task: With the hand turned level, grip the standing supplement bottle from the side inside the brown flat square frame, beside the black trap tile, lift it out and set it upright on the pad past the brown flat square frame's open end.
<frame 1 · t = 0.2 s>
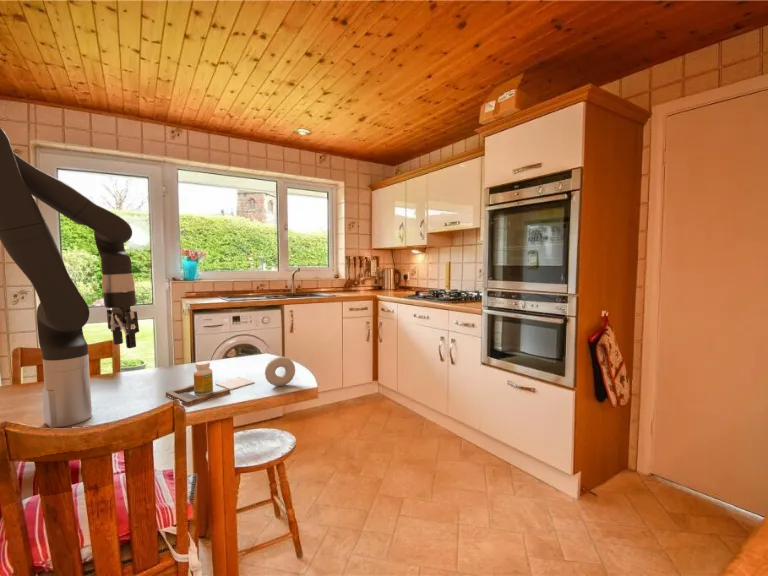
hand: (124, 345, 111), 17 cm above the table, tool pointing down, fingers open, 8 cm apart
supplement bottle: (203, 393, 123), on the table
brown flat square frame: (200, 393, 122), on the table
pad: (235, 383, 131), on the table
donut: (280, 386, 129), on the table
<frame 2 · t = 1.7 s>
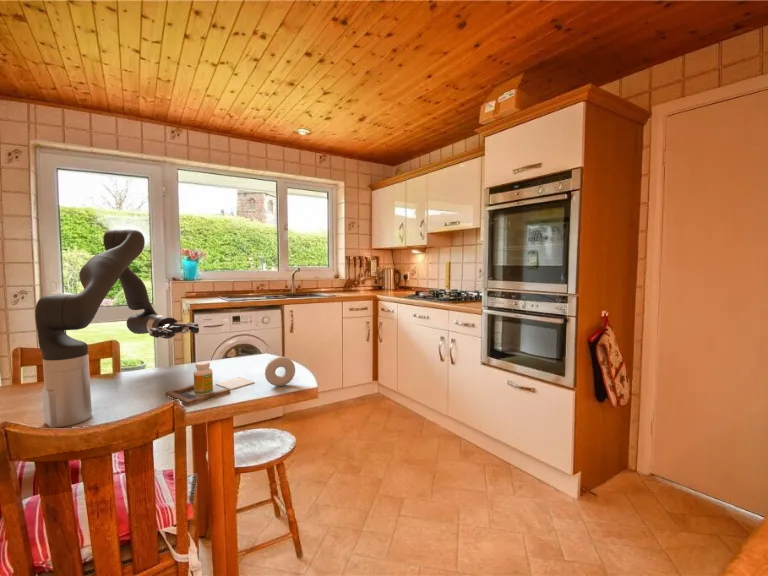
hand: (184, 332, 128), 18 cm above the table, tool horizontal, fingers open, 8 cm apart
nothing on the table moved.
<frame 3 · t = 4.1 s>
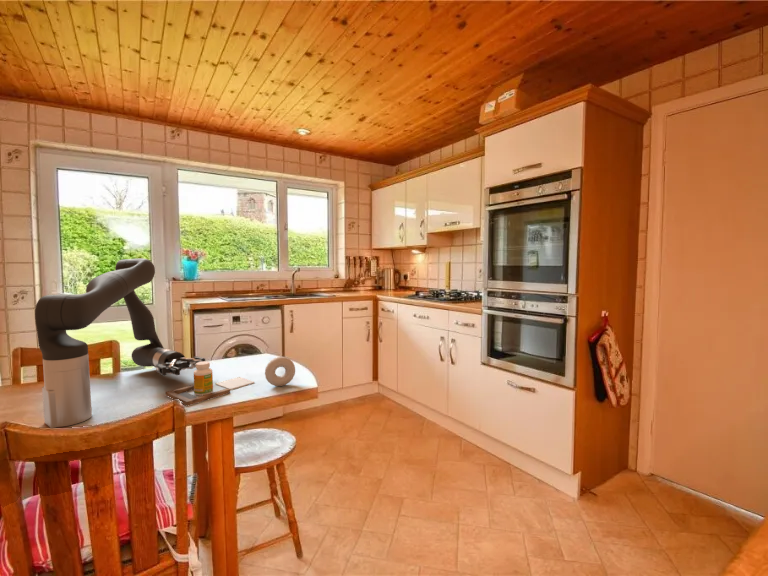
hand: (192, 368, 126), 7 cm above the table, tool horizontal, fingers open, 8 cm apart
nothing on the table moved.
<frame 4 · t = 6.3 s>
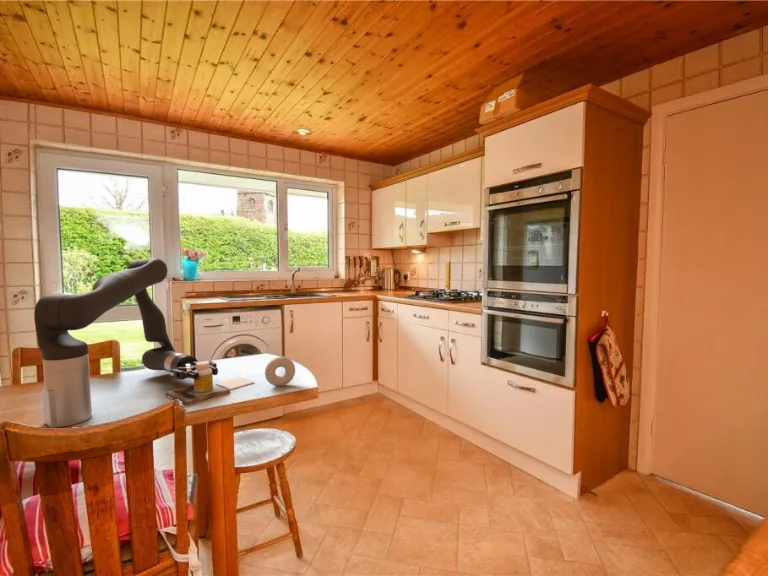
hand: (207, 374, 121), 7 cm above the table, tool horizontal, fingers closed on supplement bottle, 5 cm apart
supplement bottle: (203, 393, 123), on the table, touching gripper
everything else where it was.
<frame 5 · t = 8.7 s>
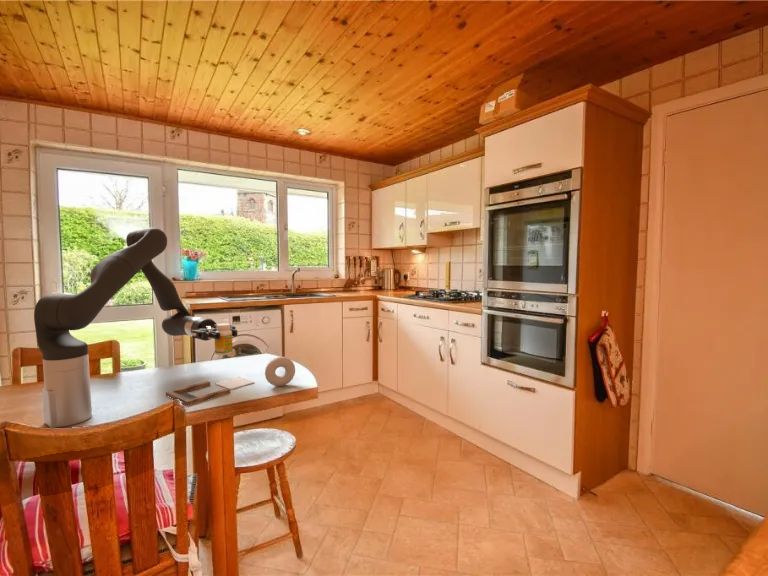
hand: (227, 334, 126), 18 cm above the table, tool horizontal, fingers closed on supplement bottle, 5 cm apart
supplement bottle: (223, 353, 128), point 11 cm above the table, touching gripper
everything else where it was.
when the fingers open (8 cm above the table, at t = 11.3 s): supplement bottle drops 1 cm, resting on pad.
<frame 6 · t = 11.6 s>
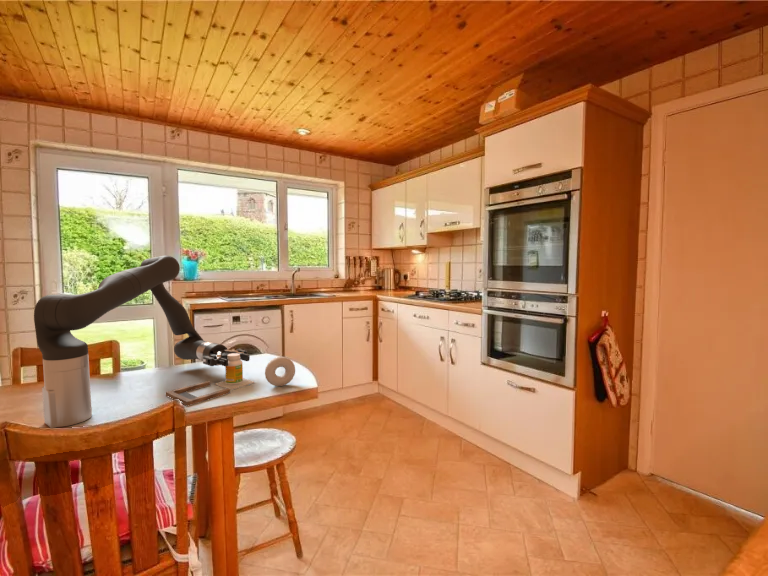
hand: (238, 360, 129), 8 cm above the table, tool horizontal, fingers open, 7 cm apart
supplement bottle: (234, 383, 131), resting on pad
everything else where it was.
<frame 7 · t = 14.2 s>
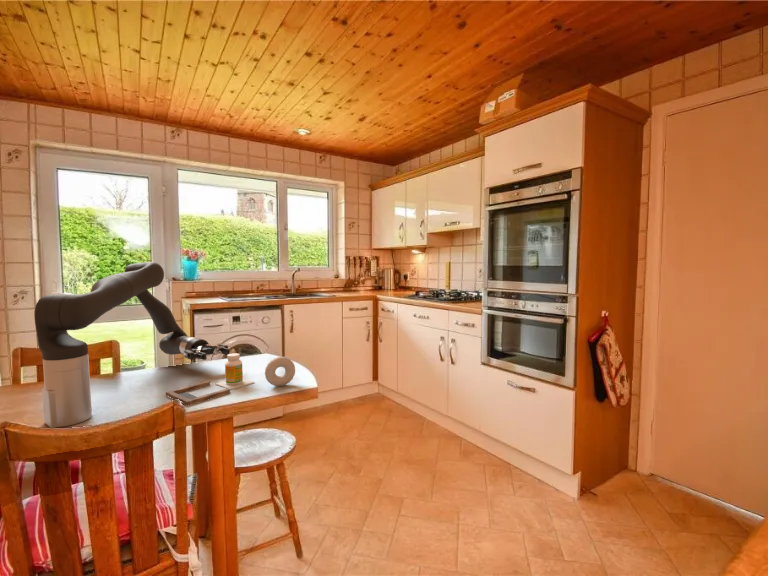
hand: (217, 354, 137), 8 cm above the table, tool horizontal, fingers open, 8 cm apart
nothing on the table moved.
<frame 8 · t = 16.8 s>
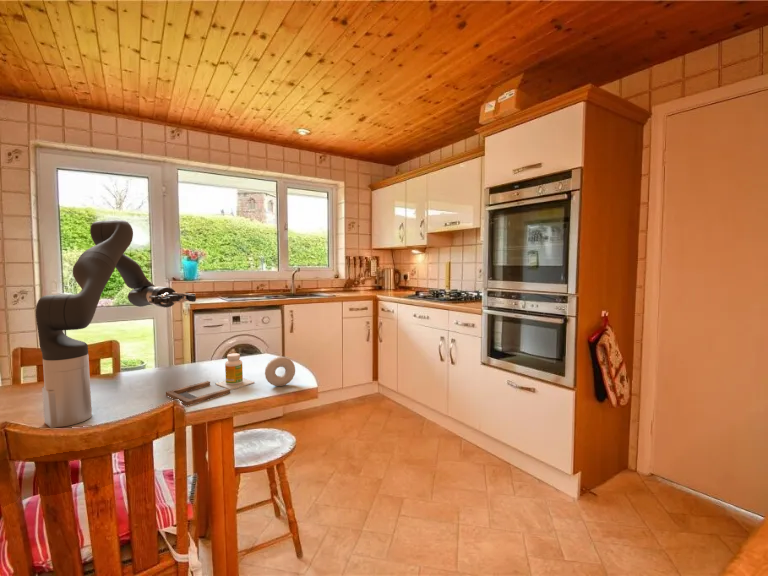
hand: (182, 299, 136), 28 cm above the table, tool horizontal, fingers open, 8 cm apart
nothing on the table moved.
at the end: supplement bottle inside the target area on the pad (0.2 cm from its centre), point 0.2 cm above the pad's base; supplement bottle tilted 0°; the gripper is holding nothing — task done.
